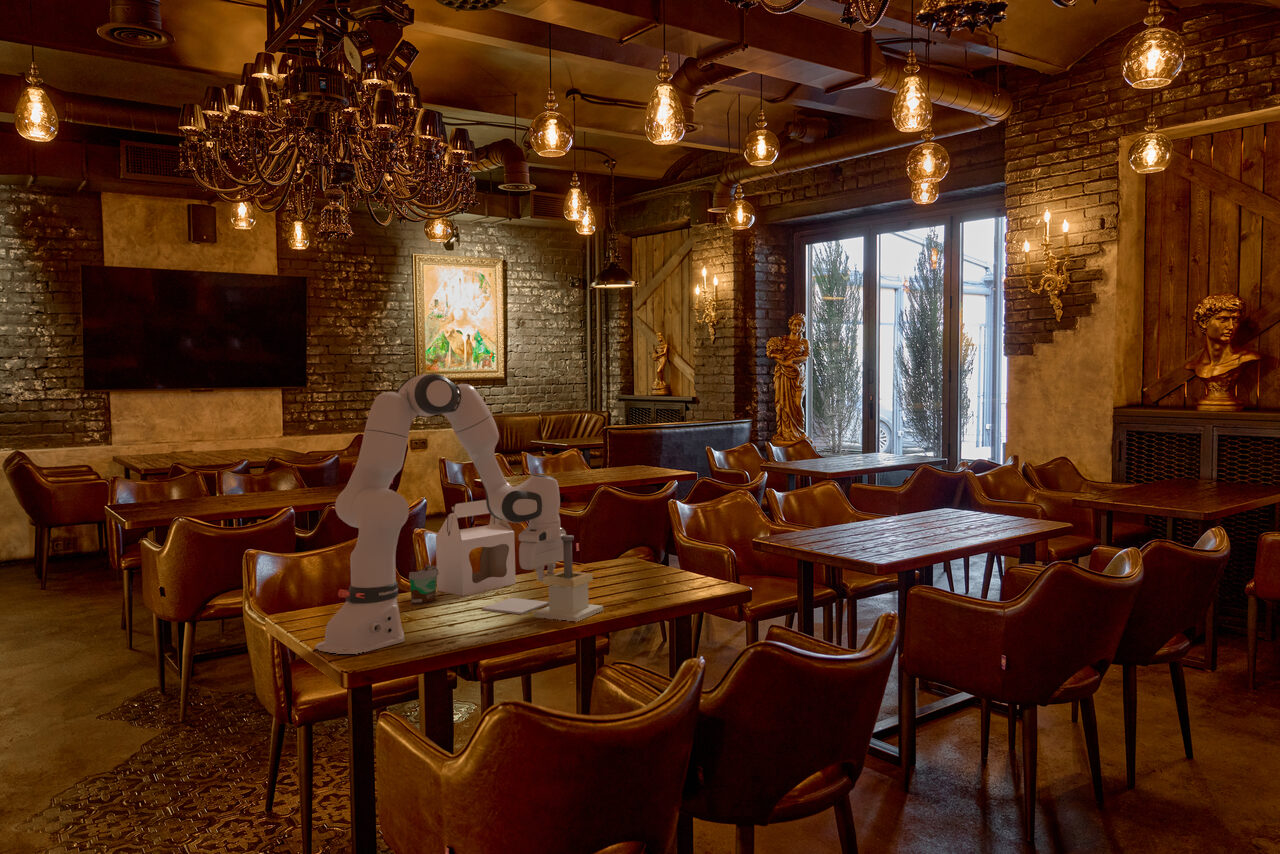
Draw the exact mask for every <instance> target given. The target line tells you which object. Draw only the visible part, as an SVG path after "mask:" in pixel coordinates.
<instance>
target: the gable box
mask: <svg viewBox="0 0 1280 854" xmlns="http://www.w3.org/2000/svg"><path fill="white" fill-rule="evenodd" d="M450 509H451V511H452V513H449V514H447V517H446V519H445V520H444V522H443V524H442V526H441V528H440V529H439V530H438V532H437V534H436V535H435V553H436V555H435V557H436V559H435V560H436V561H435V563H436V567H437V569H438V573H439V575H437V577H436V592H441V591H442V593H446V594H452V595H455V596H456V595H457V596H461V597H465V595H466V596H469V594H470V595H474V593H475V594H477V593H484V592H486V591H491V589H492V590H495V589H501V588H504V586H505V587H509V586H513V584H514V585H516V582H517V581H516V552H515V551H516V550H515V544H516V543H515V542H516V541H515V530H514V528H512V525H511V523H510V522H509V521H506V520H499V519H497V518H495V517H493V516H492V515H491V514H490V513H489V511H488V508H487V504H486V499H481V500H475V501H467V502H459V503H454V506H451V507H450ZM488 514H490V519H489V524H488V525H483V526H482V525H481V526H475V527H469V528H462V529H460V525H459V520H458V519H460V518H465V517H472V516H473V517H474V516H481V515H488ZM477 548H482V549H481V553H480V557H479V563H480V569H479V570H478V572H473V568H472V564H471V561H470V553H471V551H473V550H475V549H477ZM500 587H501V588H500Z"/></svg>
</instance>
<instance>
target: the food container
mask: <svg viewBox="0 0 1280 854" xmlns="http://www.w3.org/2000/svg"><path fill="white" fill-rule="evenodd" d="M408 574H409V575H408V580H409V584H410V587H409V588H410V597H411V605H412V606H420V605H428V604H432V603H434V602H436V598H437V597H436V595H437V575H439V573H438V569H437V565H433V564H432V565H431V564H430V565H429V564H425V568H423V569H417V570H416V571H409V573H408Z"/></svg>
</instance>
